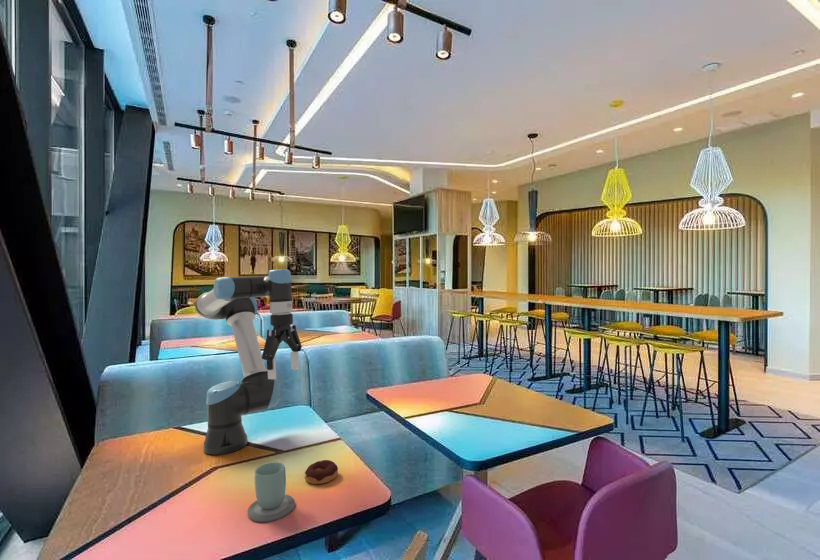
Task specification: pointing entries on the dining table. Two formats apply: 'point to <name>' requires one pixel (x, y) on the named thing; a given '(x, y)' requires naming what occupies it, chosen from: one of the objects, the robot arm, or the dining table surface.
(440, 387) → the dining table surface
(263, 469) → the cup
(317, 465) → the donut
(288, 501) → the disc
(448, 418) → the dining table surface
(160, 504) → the dining table surface
